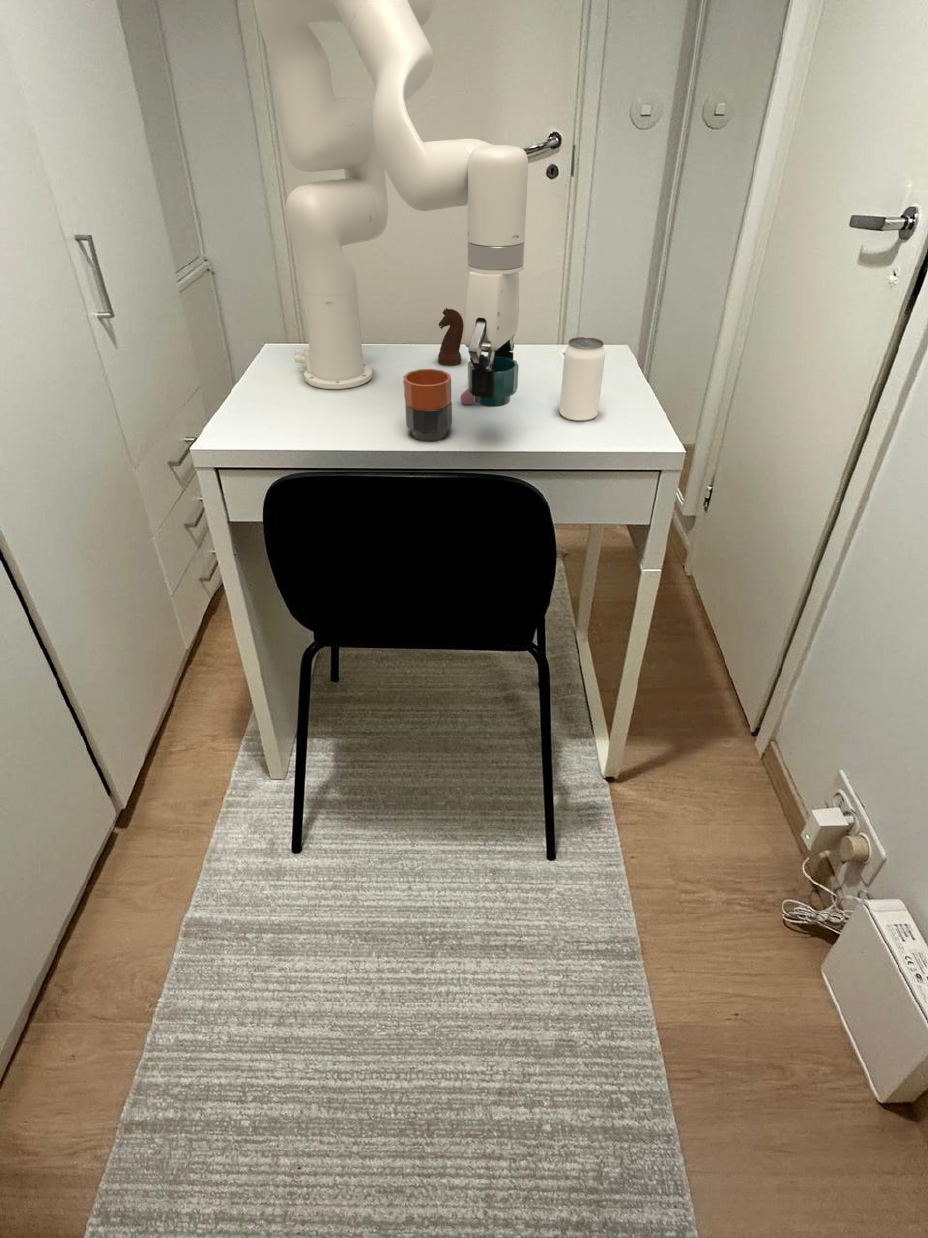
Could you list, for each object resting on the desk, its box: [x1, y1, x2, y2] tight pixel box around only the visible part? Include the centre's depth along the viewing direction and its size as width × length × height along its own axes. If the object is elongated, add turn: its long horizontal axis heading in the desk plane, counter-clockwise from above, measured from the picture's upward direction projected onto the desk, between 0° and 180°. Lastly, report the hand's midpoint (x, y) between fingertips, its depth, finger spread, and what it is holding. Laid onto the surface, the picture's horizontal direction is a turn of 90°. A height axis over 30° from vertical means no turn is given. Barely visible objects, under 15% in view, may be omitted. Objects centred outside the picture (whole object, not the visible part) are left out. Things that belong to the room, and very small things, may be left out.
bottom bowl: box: [404, 400, 453, 442], centre depth 115 cm, size 7×7×5 cm
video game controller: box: [460, 388, 477, 405], centre depth 127 cm, size 10×5×7 cm, turn 168°
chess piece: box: [437, 307, 465, 367], centre depth 140 cm, size 5×5×10 cm
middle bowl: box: [402, 368, 452, 410], centre depth 113 cm, size 7×7×5 cm
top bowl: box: [467, 355, 520, 408], centre depth 107 cm, size 7×7×5 cm
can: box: [559, 336, 606, 422], centre depth 119 cm, size 6×6×12 cm
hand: (492, 385), depth 107 cm, fingers closed on top bowl, 7 cm apart
